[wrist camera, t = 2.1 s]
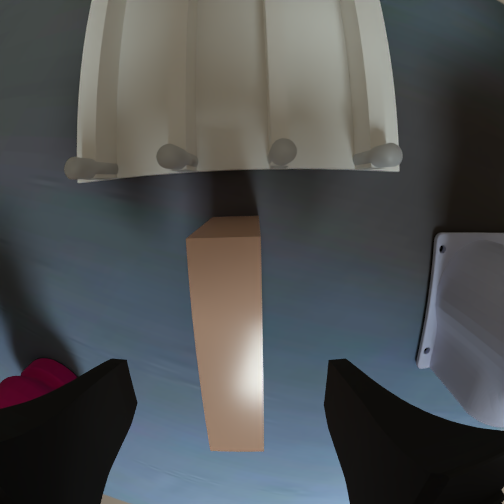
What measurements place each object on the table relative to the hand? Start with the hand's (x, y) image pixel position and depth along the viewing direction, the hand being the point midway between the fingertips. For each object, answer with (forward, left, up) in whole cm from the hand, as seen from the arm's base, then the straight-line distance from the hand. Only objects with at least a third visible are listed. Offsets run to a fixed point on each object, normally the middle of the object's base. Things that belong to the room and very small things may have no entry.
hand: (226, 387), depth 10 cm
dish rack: (+14, 0, -8) cm, 16 cm away
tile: (0, 0, -8) cm, 8 cm away
